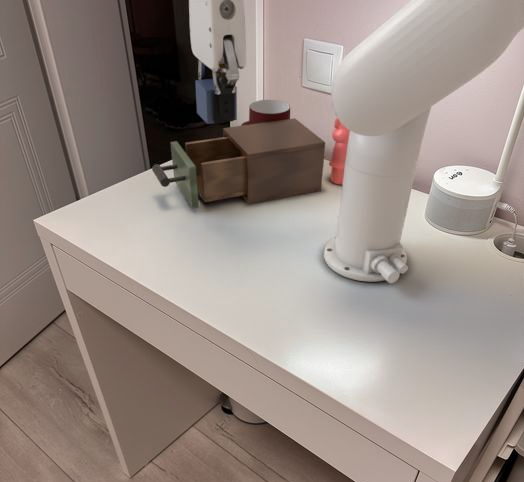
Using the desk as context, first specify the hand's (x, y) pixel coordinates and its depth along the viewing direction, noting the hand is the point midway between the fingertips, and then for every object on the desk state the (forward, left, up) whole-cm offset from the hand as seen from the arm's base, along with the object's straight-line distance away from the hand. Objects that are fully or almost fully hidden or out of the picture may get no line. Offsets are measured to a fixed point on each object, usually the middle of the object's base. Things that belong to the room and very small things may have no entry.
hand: (217, 113), depth 79 cm
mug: (+22, -17, -18) cm, 33 cm away
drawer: (+10, -1, -17) cm, 20 cm away
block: (0, 0, 0) cm, 0 cm away
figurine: (+7, -27, -18) cm, 33 cm away
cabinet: (+10, -14, -18) cm, 25 cm away
